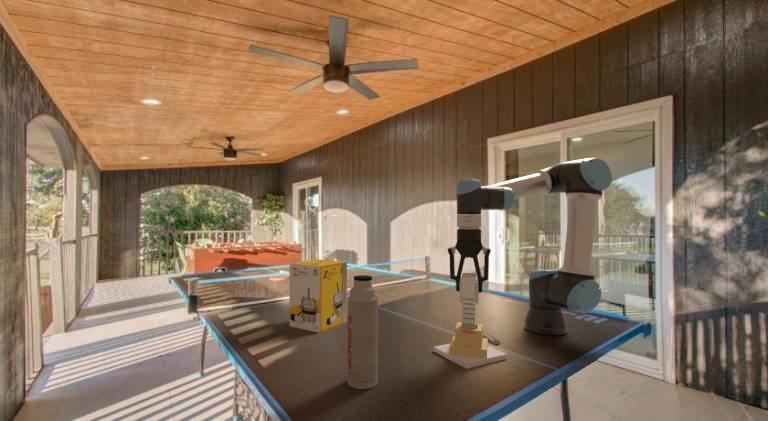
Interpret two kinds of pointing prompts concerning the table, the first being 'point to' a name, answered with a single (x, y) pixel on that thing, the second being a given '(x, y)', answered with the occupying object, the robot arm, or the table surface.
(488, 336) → the adjustable wrench
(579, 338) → the table surface
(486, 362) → the stand
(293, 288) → the packaging box
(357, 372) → the thermos bottle
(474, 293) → the column
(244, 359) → the table surface
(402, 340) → the table surface
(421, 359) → the table surface
